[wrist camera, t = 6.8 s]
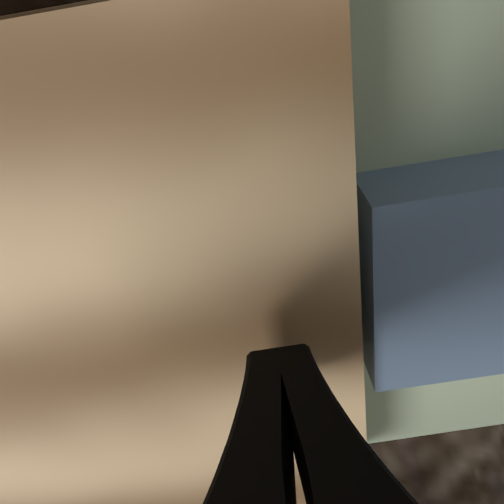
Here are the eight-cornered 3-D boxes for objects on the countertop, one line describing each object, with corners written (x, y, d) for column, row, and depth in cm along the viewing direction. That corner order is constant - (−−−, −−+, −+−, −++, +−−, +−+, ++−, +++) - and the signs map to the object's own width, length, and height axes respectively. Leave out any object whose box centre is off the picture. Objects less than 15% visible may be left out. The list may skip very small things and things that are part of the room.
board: (349, 439, 18) (369, 516, 16) (23, 487, 19) (-9, 569, 16) (315, -42, 10) (347, -43, 7) (-272, 64, 10) (-433, 98, 8)
